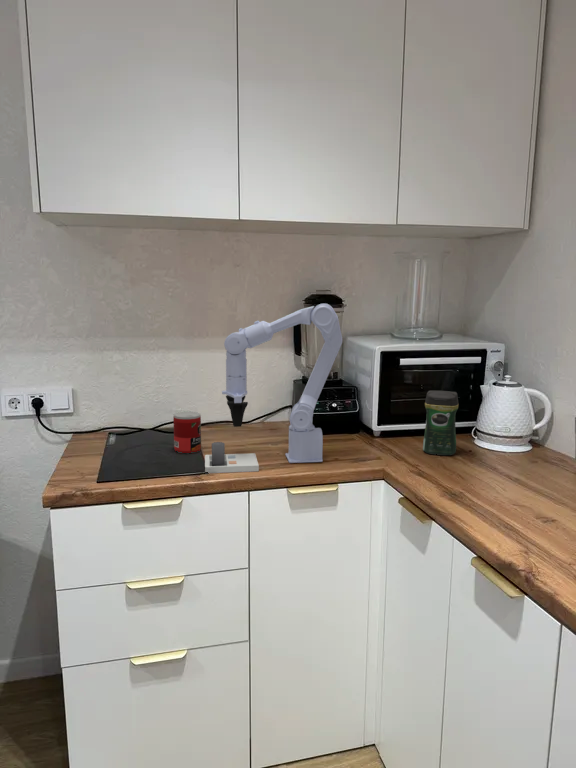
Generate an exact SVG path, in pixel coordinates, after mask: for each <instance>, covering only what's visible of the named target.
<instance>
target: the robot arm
mask: <svg viewBox="0 0 576 768" xmlns="http://www.w3.org/2000/svg"><path fill="white" fill-rule="evenodd" d="M339 320H340V319H339V316H338V314H337V313H336V310H335V309H334V308H333V307H332V306H331V304H328V303H326V302H325V303H320V304H317V305H316V306H314V305H312V306H309V307H304V308H301V309H298V310H296V311H294V312H292V313H290V314H287V315H284V316H283V317H280V318H278V319H276V320H274V321H272V322H267V321H266V320H261V321H260V320H256V321H254V322H253V324H252V325H249V326H246V327H244V328H243V327H240V328H239V329H238V331H235V332H231V333H230V334H228V335H227V337H225V339H224V342H223V344H224V348H225V350H226V353H225V355H226V356H225V357H226V359H225V379H226V380H225V387H226V388H225V390H221V394H222V395H225V398H226V404H227V406H228V408H229V412H230V416H231V421H232V422H231V423H232V426H233V427H234V428H235V427H236V428H237V427H242V424H243V420H244V413H245V410H246V409H247V406H248V405H249V402H248V401H245V399H246V396H247V395H248V390H247V389H248V388H247V386H248V385H247V381H248V380H247V377H248V375H247V370H248V369H247V364H248V363H247V362H248V361H247V351H246V350H247V349H252V348H255V347H257V346H260V345H263V344H265V343H267V342H270V341H271V340H272V339H273V336H274V334H276V333H279V332H282V331H284V330H287V329H289V328H292V327H295V326H297V325H301V324H302V325H307V326H311V325H312V323H313V325H314V326H315V327H316V328H317V329H318V330H319V331H320V334H321V337H322V338H323V341H324V343H323V345H322V347H321V349H320V352H319V354H318V356H317V358H316V362H315V363H314V366H313V369H312V371H311V373H310V375H309V378H308V381H307V383H306V385H305V387H304V389H303V391H302V395H300V398H299V400H298V401H297V403H295V404H294V405H293V406H292V408H291V413H290V415H289V423H290V424H289V425H288V452H285V454H284V455H285V458H287V461H288V463H289V464H294V463H295V464H296V463H297V464H298V463H299V464H300V463H323V446H324V445H323V442H324V440H323V439H324V437H323V430H322V428H321V427H315V425H314V424H313V417H314V410H315V408H316V405H317V402H318V399H319V398H320V395H321V393H322V390H323V388H324V386H325V384H326V381H327V380H328V377H329V375H330V372H331V370H332V368H333V365H334V362H335V360H336V358H337V356H338V354H339V352H340V349H341V347H342V344H343V335H342V330H341V325H340V321H339Z"/></svg>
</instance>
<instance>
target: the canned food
mask: <svg viewBox="0 0 576 768" xmlns="http://www.w3.org/2000/svg"><path fill="white" fill-rule="evenodd" d="M201 416H202V415H201V413H200V412H197V411H188V410H187V411H179V412H178V411H177V412H175V413H174V414H173V448H174V451H175V452H176V451H178V452H182V453H191V452H197V451H199V452H200V451H201V449H202V422H201V421H202V419H201V418H202V417H201ZM182 453H181V454H182ZM197 453H198V452H197Z"/></svg>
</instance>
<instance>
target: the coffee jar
mask: <svg viewBox="0 0 576 768" xmlns="http://www.w3.org/2000/svg"><path fill="white" fill-rule="evenodd" d="M458 396H459V395H458V393H457V391H448V390H428V391H427V393H426V396H425V402H424V407H425V410H426V411H425V412H426V420H425V428H424V436H423V444H422V451H423V452H425V453H426V454H431V455H436V454H437V456H452V455H454V454H456V451H457V434H456V433H457V432H456V430H457V429H456V413H457V411H458V409H459V399H458V398H459V397H458Z"/></svg>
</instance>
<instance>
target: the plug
mask: <svg viewBox="0 0 576 768" xmlns="http://www.w3.org/2000/svg"><path fill="white" fill-rule="evenodd" d="M225 446H226V444H225V442H222V441H217V442H212V443H211V455H212V466H225V452H226V451H225V448H226V447H225Z"/></svg>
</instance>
